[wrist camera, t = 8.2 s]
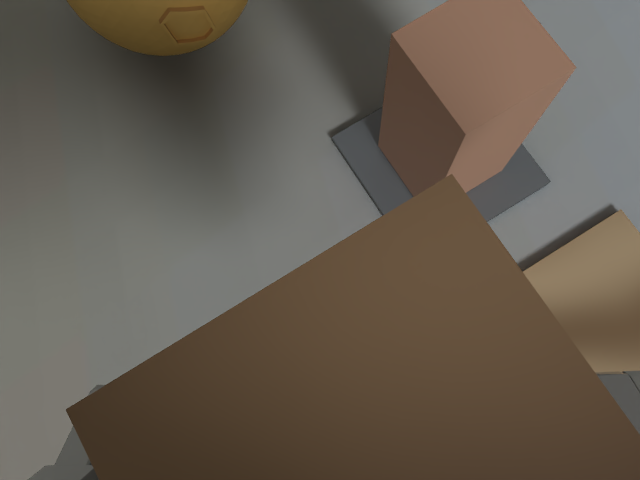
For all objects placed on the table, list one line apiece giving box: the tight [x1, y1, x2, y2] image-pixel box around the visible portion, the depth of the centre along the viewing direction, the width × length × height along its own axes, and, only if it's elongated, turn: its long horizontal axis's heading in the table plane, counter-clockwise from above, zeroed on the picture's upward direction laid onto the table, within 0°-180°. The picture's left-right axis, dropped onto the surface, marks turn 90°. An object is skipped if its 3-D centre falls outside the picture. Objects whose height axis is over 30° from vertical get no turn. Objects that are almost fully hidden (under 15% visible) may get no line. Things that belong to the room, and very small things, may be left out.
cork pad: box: [523, 210, 640, 372], centre depth 28 cm, size 8×8×1 cm
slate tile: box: [332, 107, 551, 222], centre depth 30 cm, size 8×8×1 cm
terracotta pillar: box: [378, 0, 576, 197], centre depth 25 cm, size 4×4×10 cm
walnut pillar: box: [66, 174, 640, 480], centre depth 10 cm, size 4×4×10 cm
